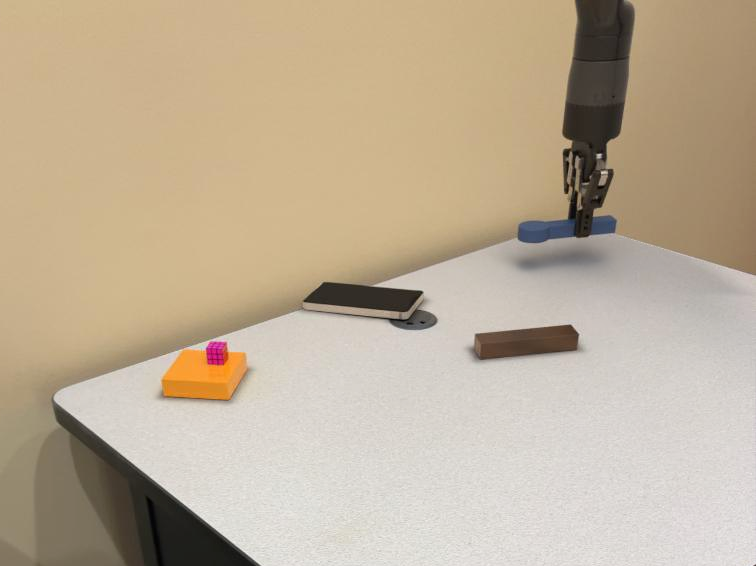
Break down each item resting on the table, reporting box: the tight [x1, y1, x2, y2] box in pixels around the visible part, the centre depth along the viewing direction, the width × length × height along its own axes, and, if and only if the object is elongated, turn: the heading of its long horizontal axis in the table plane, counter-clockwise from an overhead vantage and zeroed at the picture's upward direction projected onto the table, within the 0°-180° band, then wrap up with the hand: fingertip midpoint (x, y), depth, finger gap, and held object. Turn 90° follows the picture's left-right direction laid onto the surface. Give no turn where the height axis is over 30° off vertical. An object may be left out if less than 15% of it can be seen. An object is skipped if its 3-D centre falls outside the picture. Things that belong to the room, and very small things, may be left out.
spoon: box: [516, 214, 618, 244], centre depth 126 cm, size 14×4×2 cm, turn 96°
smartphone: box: [302, 281, 425, 320], centre depth 122 cm, size 8×1×15 cm
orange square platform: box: [160, 340, 248, 401], centre depth 105 cm, size 8×8×4 cm
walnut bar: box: [473, 324, 580, 360], centre depth 108 cm, size 12×3×2 cm, turn 96°
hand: (578, 232), depth 127 cm, fingers closed on spoon, 2 cm apart
